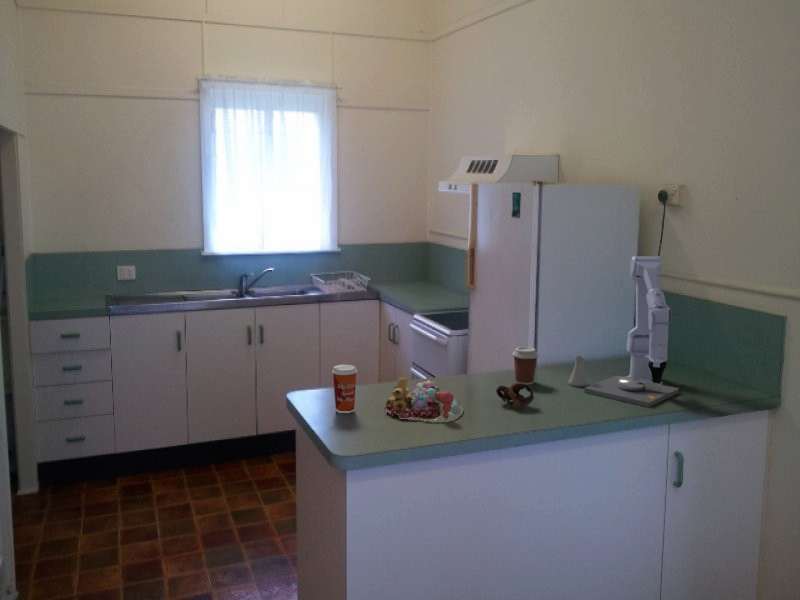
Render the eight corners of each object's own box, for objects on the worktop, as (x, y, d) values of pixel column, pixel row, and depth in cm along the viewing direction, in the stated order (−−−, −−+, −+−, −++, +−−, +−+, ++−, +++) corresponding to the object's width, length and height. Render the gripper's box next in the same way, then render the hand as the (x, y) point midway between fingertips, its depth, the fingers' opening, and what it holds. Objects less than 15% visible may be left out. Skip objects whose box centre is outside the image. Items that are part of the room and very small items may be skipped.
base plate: (616, 379, 272) (616, 374, 271) (678, 392, 256) (679, 387, 256) (584, 392, 256) (584, 387, 256) (648, 407, 240) (649, 402, 240)
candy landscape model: (378, 421, 227) (378, 391, 225) (390, 397, 250) (390, 370, 248) (461, 425, 223) (462, 395, 222) (466, 401, 246) (467, 374, 245)
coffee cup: (541, 381, 269) (542, 348, 267) (531, 387, 262) (532, 353, 259) (517, 377, 274) (518, 344, 272) (507, 383, 266) (508, 349, 264)
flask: (587, 381, 269) (588, 354, 267) (590, 387, 261) (591, 359, 260) (566, 381, 269) (567, 353, 267) (569, 387, 262) (570, 358, 260)
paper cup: (338, 416, 230) (337, 371, 228) (328, 409, 237) (328, 365, 234) (361, 412, 234) (361, 368, 231) (351, 405, 240) (351, 363, 238)
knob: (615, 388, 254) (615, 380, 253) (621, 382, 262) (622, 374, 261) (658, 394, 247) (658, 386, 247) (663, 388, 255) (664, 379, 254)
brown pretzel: (531, 402, 247) (537, 384, 241) (526, 422, 239) (533, 405, 234) (495, 390, 248) (501, 373, 243) (489, 411, 241) (495, 393, 236)
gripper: (647, 339, 258) (645, 378, 260) (644, 347, 245) (642, 388, 247) (669, 340, 256) (667, 380, 258) (667, 348, 242) (665, 390, 244)
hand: (656, 384), depth 252 cm, fingers closed, pressing on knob
